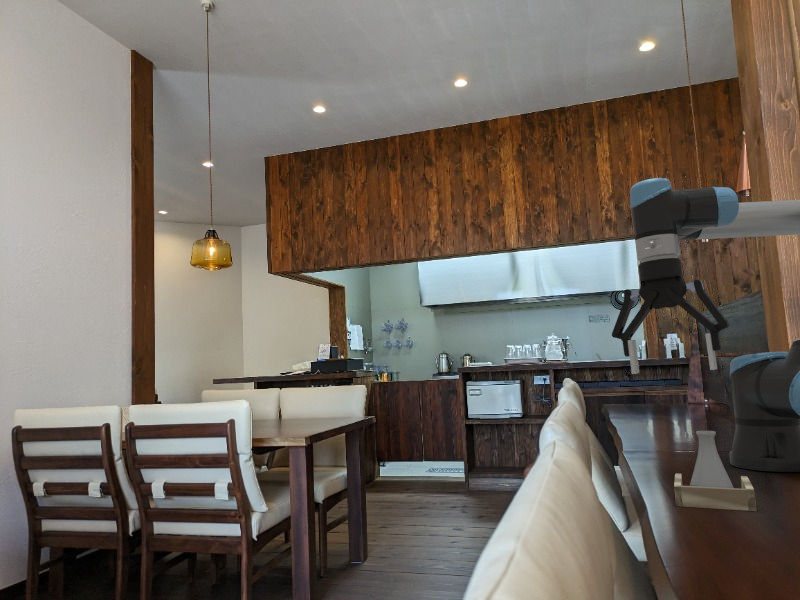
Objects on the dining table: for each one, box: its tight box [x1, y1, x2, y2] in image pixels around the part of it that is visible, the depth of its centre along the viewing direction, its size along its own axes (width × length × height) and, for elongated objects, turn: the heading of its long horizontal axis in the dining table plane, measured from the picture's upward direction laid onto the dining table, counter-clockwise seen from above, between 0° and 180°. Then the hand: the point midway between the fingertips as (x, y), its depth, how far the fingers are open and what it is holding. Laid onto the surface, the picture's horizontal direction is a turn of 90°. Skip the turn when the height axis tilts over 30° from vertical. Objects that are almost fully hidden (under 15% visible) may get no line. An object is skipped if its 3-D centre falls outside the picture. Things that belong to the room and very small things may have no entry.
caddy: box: [673, 473, 758, 512], centre depth 94 cm, size 12×11×3 cm
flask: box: [689, 430, 735, 488], centre depth 103 cm, size 7×7×10 cm
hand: (673, 371), depth 108 cm, fingers open, 13 cm apart
